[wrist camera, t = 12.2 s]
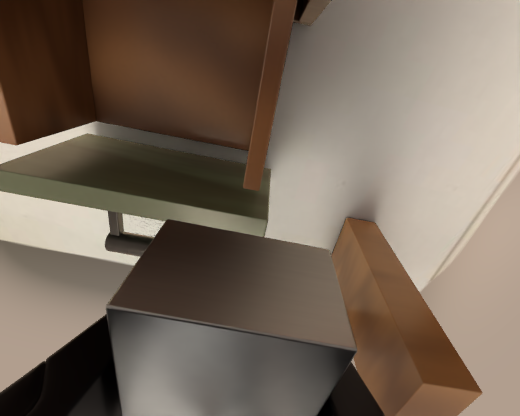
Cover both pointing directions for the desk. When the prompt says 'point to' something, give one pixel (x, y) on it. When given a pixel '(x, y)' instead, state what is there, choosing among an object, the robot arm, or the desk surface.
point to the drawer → (144, 106)
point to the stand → (397, 331)
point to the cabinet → (309, 10)
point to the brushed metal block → (228, 326)
